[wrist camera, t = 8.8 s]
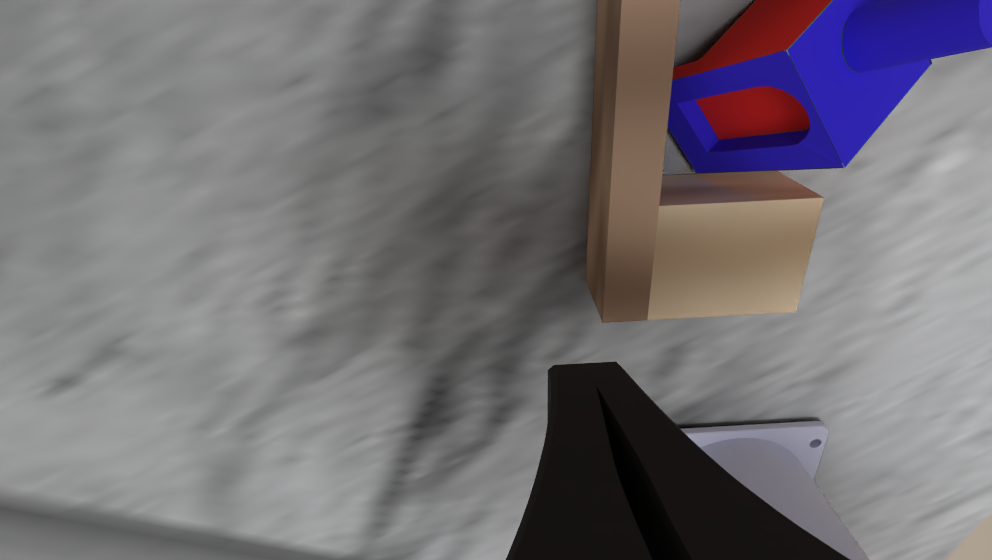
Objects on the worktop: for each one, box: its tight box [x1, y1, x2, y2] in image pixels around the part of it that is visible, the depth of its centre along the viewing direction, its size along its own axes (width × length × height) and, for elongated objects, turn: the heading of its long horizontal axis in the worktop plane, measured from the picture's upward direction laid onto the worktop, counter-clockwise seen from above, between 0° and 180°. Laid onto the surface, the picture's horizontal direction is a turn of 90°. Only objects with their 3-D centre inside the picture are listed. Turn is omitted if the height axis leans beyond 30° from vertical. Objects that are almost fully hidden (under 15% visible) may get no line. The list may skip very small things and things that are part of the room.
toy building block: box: [667, 0, 992, 174], centre depth 15 cm, size 4×4×8 cm
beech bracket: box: [586, 0, 824, 323], centre depth 16 cm, size 15×6×3 cm, turn 2°
